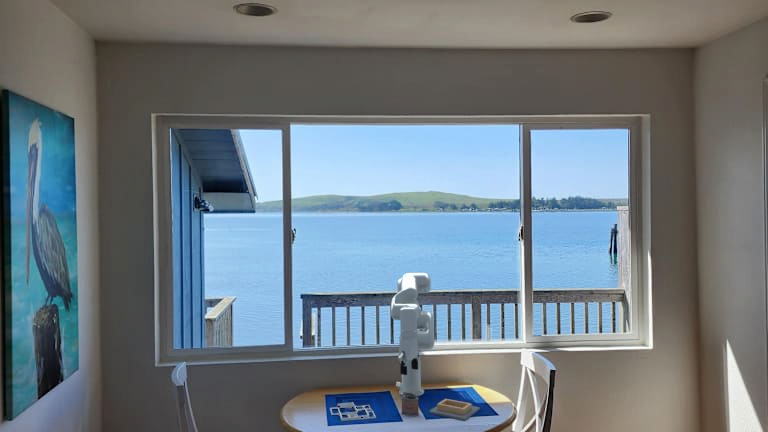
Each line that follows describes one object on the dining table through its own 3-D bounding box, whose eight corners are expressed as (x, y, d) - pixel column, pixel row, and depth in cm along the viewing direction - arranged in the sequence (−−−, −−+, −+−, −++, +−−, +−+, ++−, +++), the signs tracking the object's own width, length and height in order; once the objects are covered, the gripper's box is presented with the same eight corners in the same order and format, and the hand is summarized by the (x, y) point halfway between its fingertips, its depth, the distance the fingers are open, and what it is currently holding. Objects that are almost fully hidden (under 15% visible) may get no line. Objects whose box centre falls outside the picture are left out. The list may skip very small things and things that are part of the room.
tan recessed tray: (428, 413, 268) (428, 405, 268) (445, 402, 281) (444, 395, 281) (464, 420, 258) (464, 412, 258) (479, 409, 271) (479, 402, 271)
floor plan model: (316, 409, 276) (316, 405, 276) (368, 405, 281) (368, 400, 281) (320, 424, 258) (320, 420, 258) (376, 419, 263) (375, 414, 263)
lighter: (419, 413, 268) (419, 391, 267) (417, 416, 264) (417, 394, 264) (402, 411, 270) (402, 390, 270) (400, 414, 267) (400, 392, 267)
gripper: (411, 329, 275) (411, 366, 276) (391, 337, 261) (392, 375, 261) (425, 331, 271) (425, 368, 272) (406, 339, 257) (406, 377, 257)
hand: (409, 371), depth 266 cm, fingers open, 9 cm apart
